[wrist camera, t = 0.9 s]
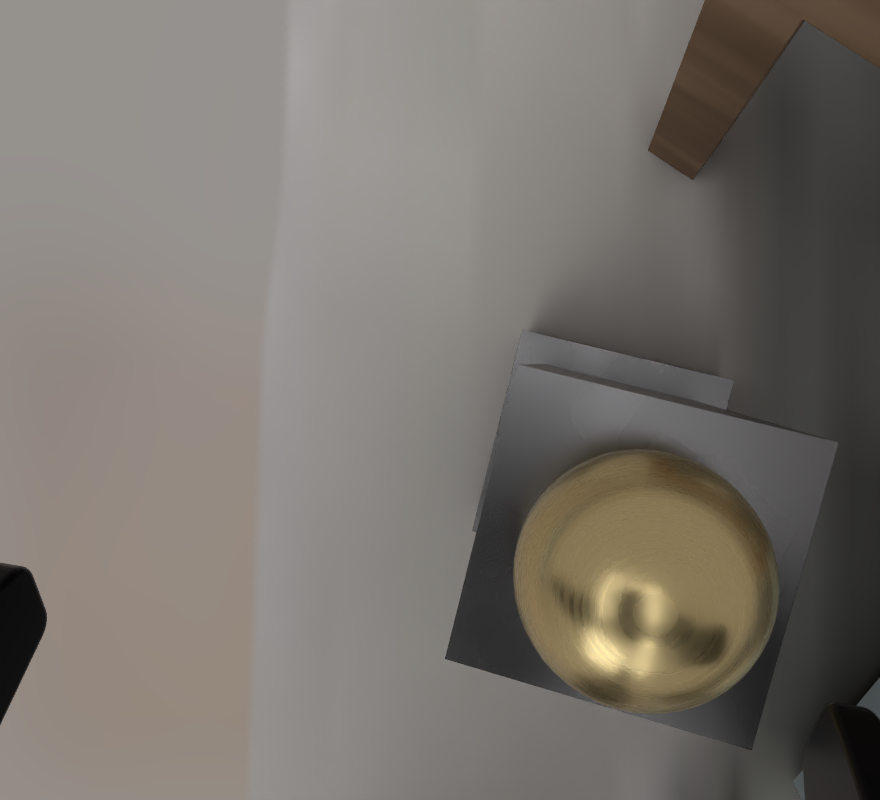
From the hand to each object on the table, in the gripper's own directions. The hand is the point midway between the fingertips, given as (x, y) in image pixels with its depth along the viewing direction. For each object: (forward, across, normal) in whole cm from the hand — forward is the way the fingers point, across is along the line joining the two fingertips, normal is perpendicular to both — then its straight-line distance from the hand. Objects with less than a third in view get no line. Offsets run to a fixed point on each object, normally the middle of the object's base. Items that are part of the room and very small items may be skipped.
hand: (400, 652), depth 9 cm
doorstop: (+15, -3, +8) cm, 17 cm away
